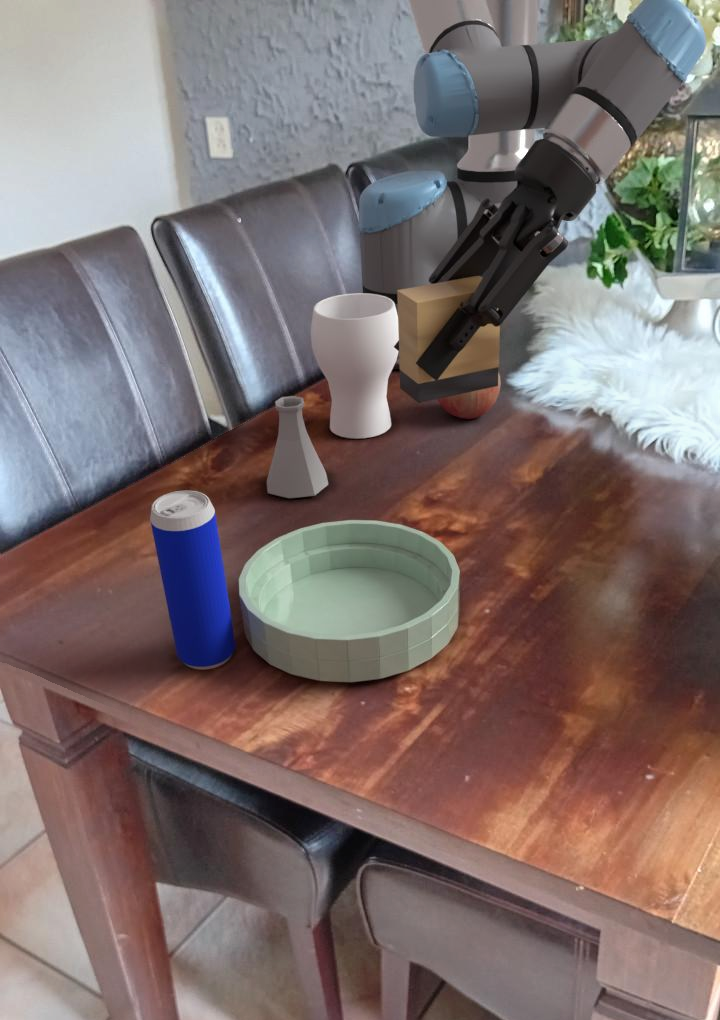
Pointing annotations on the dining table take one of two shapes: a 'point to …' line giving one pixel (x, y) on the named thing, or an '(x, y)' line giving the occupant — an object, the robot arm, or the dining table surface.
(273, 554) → the bowl
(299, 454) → the flask
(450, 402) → the fruit
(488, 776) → the dining table surface
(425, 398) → the eraser
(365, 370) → the cup
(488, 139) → the robot arm
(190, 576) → the beverage can
